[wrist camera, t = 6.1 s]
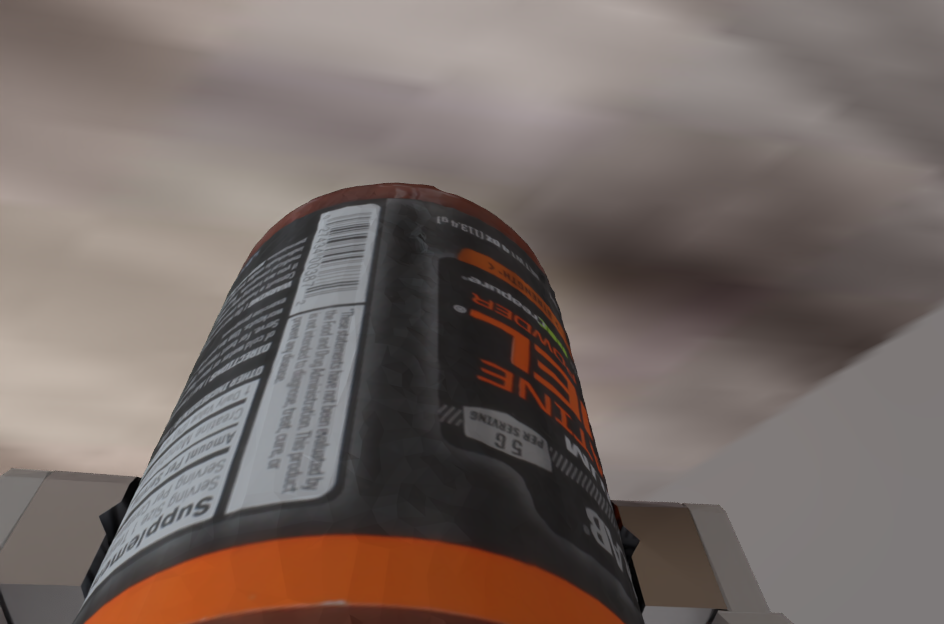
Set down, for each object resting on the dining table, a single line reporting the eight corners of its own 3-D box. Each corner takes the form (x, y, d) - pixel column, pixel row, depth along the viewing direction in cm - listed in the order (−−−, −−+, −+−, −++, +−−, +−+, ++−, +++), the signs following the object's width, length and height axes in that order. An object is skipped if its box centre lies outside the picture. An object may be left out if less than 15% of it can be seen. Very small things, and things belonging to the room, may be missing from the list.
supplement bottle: (613, 338, 14) (995, 1390, 4) (380, 474, 16) (301, 1431, 6) (422, 93, 11) (369, 1534, 2) (164, 292, 13) (-571, 1536, 3)
